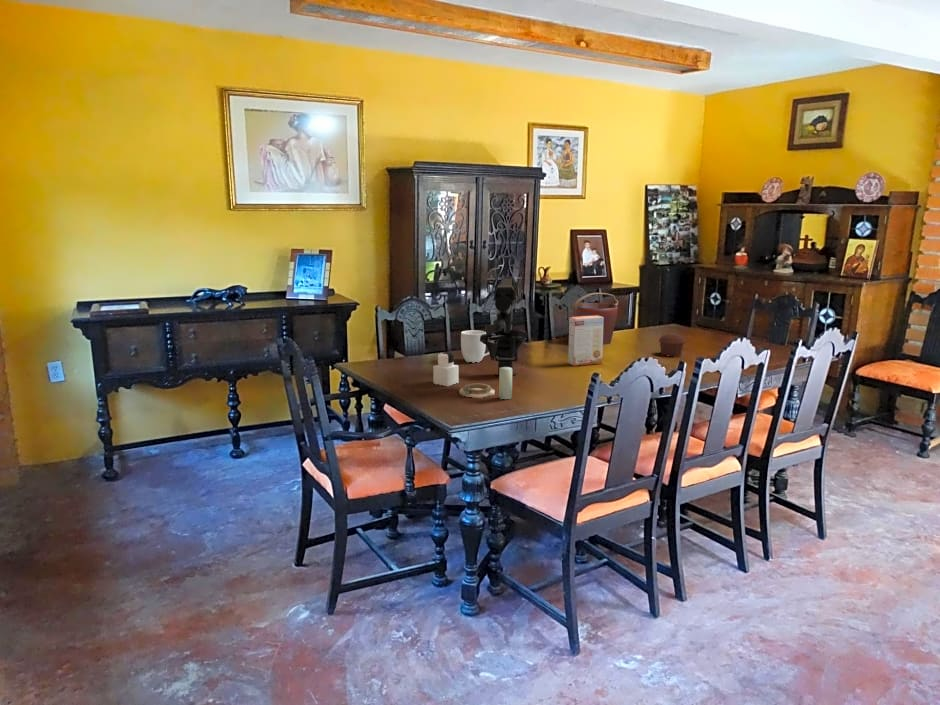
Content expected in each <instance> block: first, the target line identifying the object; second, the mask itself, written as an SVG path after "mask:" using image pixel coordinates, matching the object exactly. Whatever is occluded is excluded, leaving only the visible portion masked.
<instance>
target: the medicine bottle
mask: <svg viewBox="0 0 940 705" xmlns="http://www.w3.org/2000/svg"><path fill="white" fill-rule="evenodd" d="M454 356H455V355H454V354H453V353H451V352H448V351H447V352H445V351H444V352H440V353H439V354H437V364H436V365H433V368H432V369H433V372H432V373H433V374H432V375H433V384H434V385H438V384H439V386H442V385H443V386H444V387H450V386H452V385H453V384H454V385H455V384H456V383H457V384H459V380H460V379H459V365H458V364H454V363H455V361H454ZM443 386H442V387H443Z"/></svg>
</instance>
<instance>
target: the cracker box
mask: <svg viewBox="0 0 940 705" xmlns="http://www.w3.org/2000/svg"><path fill="white" fill-rule="evenodd" d="M603 320H604V317H601V316H598V315H596V316H580V317H573V316H570V317H569V318H568V321H569V322H568V359H567V360H568V362H567V363H568V364H569V365H571V366H573V367H579V365H581V366H592V365H600V364H601V365H603V348H604V347H603V346H604V345H603Z"/></svg>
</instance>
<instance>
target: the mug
mask: <svg viewBox="0 0 940 705" xmlns="http://www.w3.org/2000/svg"><path fill="white" fill-rule="evenodd" d="M482 334H486V331H484V330H478V329H477V330H475V329H474V330H470V329H469V330H463V331H461V332H460V348H461V349H460V350H461V354H462V357H463V359H464V360H465V362H466V363H469V362H472V363H471V364H475V362H477V363H481V362H482V360H483V358H484V357H486V356H488V355H489V356H490V353H489V351H487V352H486V348H487V346H486V345H485V344H483V343H482V342H480V336H481V335H482ZM485 352H486V353H485ZM480 361H481V362H480Z"/></svg>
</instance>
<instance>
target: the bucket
mask: <svg viewBox="0 0 940 705" xmlns="http://www.w3.org/2000/svg"><path fill="white" fill-rule="evenodd" d="M597 295H604V296H610V299H611V303H605V302H582V301H583V300H586V299H587V298H589V297H592V296H597ZM618 305H619V300H618V299H616V296H615V295H614V294H613V293H612V294H610V293H607V292H590V293H588V294H585V295H583V296H581V297H580V298H578V299H576V300H575V302H573V304H572V317H580V316H596V315H598V316H601V317H604V320H603V346H604V345H606V346H607V345H610V344H611V343H612V338H613V334H614V330H615V326H616V321H617V317H618V313H619V312H618V309H619V307H618Z"/></svg>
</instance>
